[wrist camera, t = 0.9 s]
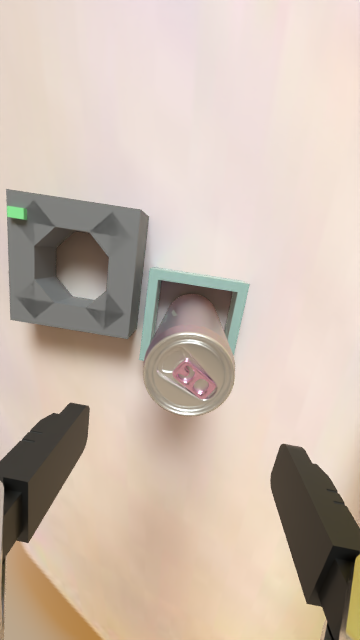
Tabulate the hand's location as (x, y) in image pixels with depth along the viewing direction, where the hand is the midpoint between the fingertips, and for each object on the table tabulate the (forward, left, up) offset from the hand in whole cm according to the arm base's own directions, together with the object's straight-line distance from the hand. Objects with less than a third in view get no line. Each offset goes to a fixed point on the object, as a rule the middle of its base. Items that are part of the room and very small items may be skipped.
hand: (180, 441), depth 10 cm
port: (+13, -4, -20) cm, 24 cm away
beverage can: (0, 0, -20) cm, 20 cm away
